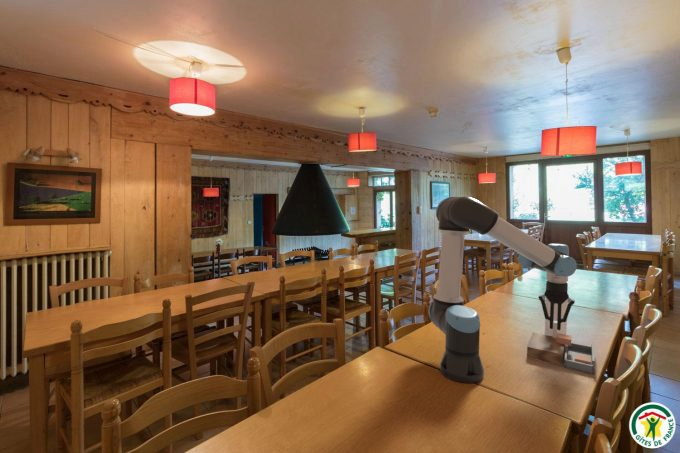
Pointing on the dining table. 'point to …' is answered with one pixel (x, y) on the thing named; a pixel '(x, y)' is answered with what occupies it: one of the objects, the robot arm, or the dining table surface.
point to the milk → (563, 324)
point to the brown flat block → (545, 349)
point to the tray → (579, 349)
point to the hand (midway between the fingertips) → (554, 336)
